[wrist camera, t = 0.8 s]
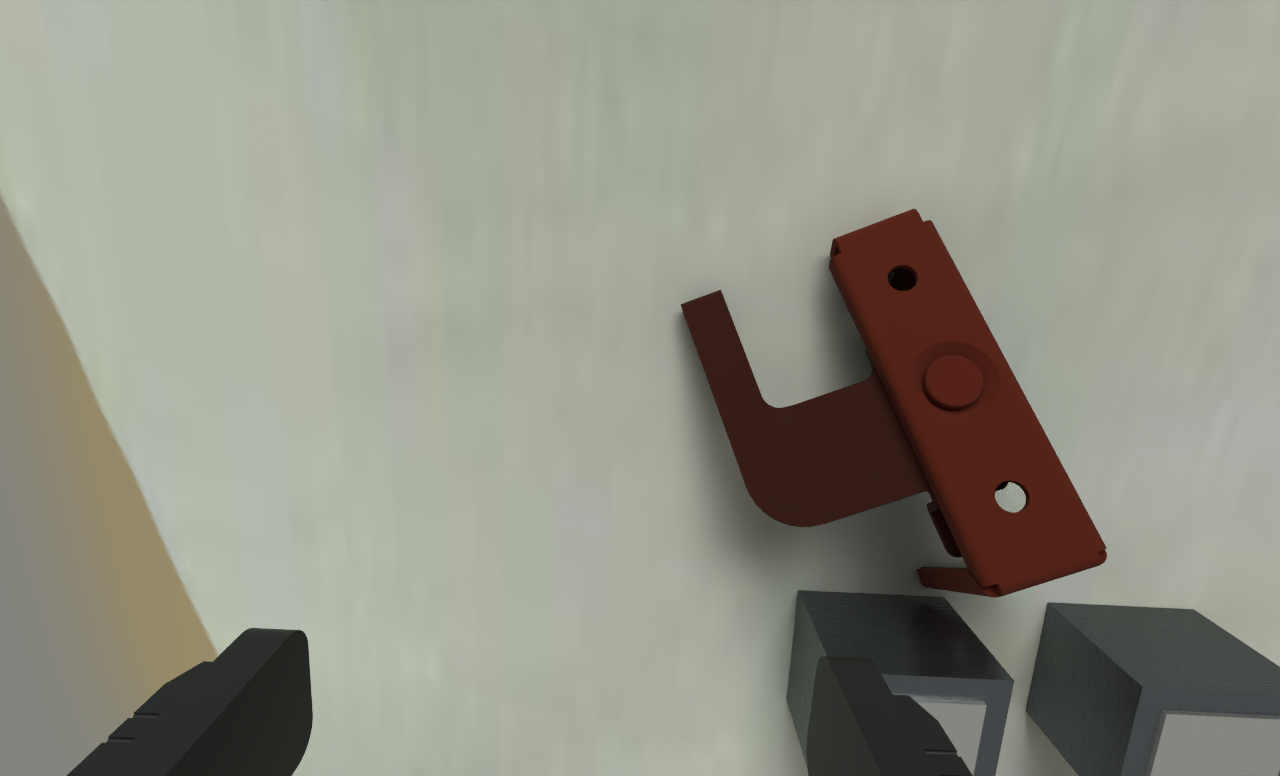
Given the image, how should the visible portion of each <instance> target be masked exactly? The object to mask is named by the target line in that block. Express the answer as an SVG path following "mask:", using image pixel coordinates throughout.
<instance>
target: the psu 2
mask: <svg viewBox="0 0 1280 776" xmlns="http://www.w3.org/2000/svg"><path fill="white" fill-rule="evenodd" d="M1026 711H1027V713H1028V714H1029V715H1030V716H1031V717H1032V719H1033V720H1034V721H1035V722H1036V724H1037V725H1038V726H1039V727H1040V729H1041V730H1042V731H1043V732H1044V733H1045V735H1046V736H1047V737H1048V738H1049V740H1050V741H1051V742H1052V743H1053V745H1054V746H1055V747H1056V748H1057V749H1058V751H1059V752H1060V753H1061V754H1062V756H1063V757H1064V758H1065V759H1066V761H1067V762H1068V763H1069V764H1070V765H1071V767H1072V768H1073V769H1074V770H1075V772H1076V773H1077V774H1078V775H1079V776H1280V667H1279V666H1278V665H1276V664H1275V663H1273V662H1272V661H1270V660H1269V659H1267V658H1266V657H1264V656H1263V655H1261V654H1260V653H1258V652H1257V651H1255V650H1254V649H1252V648H1251V647H1249V646H1248V645H1246V644H1245V643H1243V642H1242V641H1240V640H1239V639H1237V638H1236V637H1234V636H1233V635H1231V634H1230V633H1228V632H1227V631H1225V630H1224V629H1222V628H1221V627H1219V626H1218V625H1216V624H1215V623H1213V622H1212V621H1210V620H1209V619H1207V618H1206V617H1204V616H1203V615H1201V614H1200V613H1198V612H1197V611H1195V610H1191V609H1171V608H1150V607H1129V606H1108V605H1088V604H1067V603H1048V606H1047V611H1046V615H1045V620H1044V625H1043V630H1042V635H1041V640H1040V645H1039V649H1038V654H1037V659H1036V664H1035V669H1034V674H1033V678H1032V683H1031V688H1030V693H1029V698H1028V703H1027V708H1026Z"/></svg>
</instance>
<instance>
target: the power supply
mask: <svg viewBox="0 0 1280 776" xmlns="http://www.w3.org/2000/svg"><path fill="white" fill-rule="evenodd" d="M822 656H830V657H851V658H869V659H871V660H872V661H873V662H874V663H875V665H876V666H877V668H878V670H879V671H880V673H881V675H882V677H883V678H884V680H885V682H886V684H887V685H888V687H889V689H890V691H891V692H892V694H893V695H909V696H910V697H911V698H912V699H914V700H915V701H916V702H917V703H918V704H919V705H920V706H922V707H923V708H924V709H925V710H926V711H927V712H928V713H930V714H931V715H932V716H933V717H934V718H935V719H937V720H938V721H939V723H940V725H941V726H942V728H943V729H944V731H945V732H946V734H947V736H948V737H949V739H950V740H951V742H952V744H953V745H954V747H955V748H956V750H957V755H958V757H961V758H962V759H963V761H964V762H965V764H966V766H967V767H968V769H969V770H970V772H971V773H972V775H973V776H995V774H996V769H997V764H998V759H999V754H1000V749H1001V743H1002V738H1003V733H1004V728H1005V723H1006V718H1007V713H1008V708H1009V703H1010V698H1011V693H1012V688H1013V683H1014V680H1013V679H1012V678H1011V677H1010V675H1009V674H1008V673H1007V672H1006V671H1005V669H1004V668H1003V667H1002V666H1001V665H1000V663H999V662H998V661H997V660H996V659H995V657H994V656H993V655H992V654H991V653H990V652H989V650H988V649H987V648H986V647H985V646H984V644H983V643H982V642H981V641H980V640H979V638H978V637H977V636H976V635H975V634H974V633H973V631H972V630H971V629H970V628H969V627H968V625H967V624H966V623H965V622H964V621H963V619H962V618H961V617H960V616H959V615H958V614H957V612H956V611H955V610H954V609H953V608H952V606H951V605H950V604H949V603H948V602H947V600H946V599H945V598H943V597H922V596H901V595H880V594H860V593H839V592H818V591H798V600H797V609H796V618H795V627H794V636H793V645H792V654H791V663H790V672H789V681H788V690H787V702H788V706H789V709H790V712H791V715H792V719H793V722H794V725H795V729H796V732H797V735H798V738H799V742H800V745H801V748H802V751H803V755H804V758H805V761H806V764H807V754H806V746H807V734H808V727H809V720H810V712H811V705H812V697H813V690H814V682H815V675H816V668H817V664H818V661H819V659H820V657H822ZM807 768H808V767H807Z"/></svg>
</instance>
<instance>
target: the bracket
mask: <svg viewBox="0 0 1280 776" xmlns="http://www.w3.org/2000/svg"><path fill="white" fill-rule="evenodd" d="M830 255H831V257H832V259H831V260H830V264H829V269H830V271H831V273H832V275H833V277H834V280H835V282H836V284H837V286H838V288H839V290H840V293H841V295H842V297H843V299H844V301H845V303H846V306H847V308H848V310H849V312H850V314H851V316H852V319H853V321H854V323H855V325H856V327H857V329H858V332H859V334H860V336H861V338H862V340H863V342H864V345H865V350H866V354H867V356H868V359H869V361H870V363H871V366H872V372H871V375H870V377H869V378H867V379H866V380H864V381H862V382H859V383H856V384H854V385H851V386H848V387H845V388H842V389H839V390H836V391H833V392H830V393H828V394H825V395H822V396H819V397H816V398H813V399H810V400H807V401H804V402H801V403H799V404H796V405H792V406H788V407H784V408H775V407H772V406H770V405H768V404H767V403H766V402H765V401H764V400H763V398H762V396H761V393H760V391H759V388H758V385H757V383H756V380H755V378H754V375H753V372H752V370H751V367H750V365H749V362H748V359H747V357H746V354H745V352H744V349H743V346H742V344H741V341H740V339H739V336H738V333H737V331H736V328H735V326H734V323H733V320H732V318H731V315H730V313H729V310H728V308H727V305H726V302H725V300H724V297H723V295H722V292H721V290H719V291H716V292H713V293H711V294H708V295H705V296H703V297H700V298H697V299H694V300H692V301H689V302H686V303H684V304H681V307H682V310H683V313H684V315H685V318H686V321H687V323H688V326H689V329H690V332H691V335H692V337H693V340H694V343H695V346H696V348H697V351H698V354H699V357H700V360H701V362H702V365H703V368H704V371H705V374H706V376H707V379H708V382H709V385H710V387H711V390H712V393H713V396H714V399H715V401H716V404H717V407H718V410H719V412H720V415H721V418H722V421H723V424H724V426H725V429H726V432H727V435H728V438H729V440H730V443H731V446H732V449H733V451H734V454H735V457H736V460H737V463H738V465H739V468H740V471H741V474H742V476H743V479H744V482H745V485H746V487H747V490H748V492H749V494H750V496H751V497H752V499H753V500H754V502H755V503H756V505H757V506H758V507H759V508H760V509H761V510H762V511H763V512H765V513H766V514H767V515H769V516H770V517H771V518H773V519H775V520H777V521H779V522H781V523H784V524H788V525H791V526H798V527H812V526H817V525H822V524H825V523H829V522H832V521H835V520H838V519H841V518H844V517H847V516H850V515H853V514H857V513H860V512H863V511H866V510H869V509H872V508H875V507H878V506H881V505H884V504H887V503H890V502H893V501H897V500H900V499H903V498H906V497H909V496H912V495H915V494H918V493H921V492H924V491H927V492H929V494H930V496H931V498H932V501H933V502H930V503H928V504H927V508H928V511H929V514H930V516H931V518H932V521H933V523H934V525H935V527H936V530H937V532H938V534H939V536H940V539H941V541H942V543H943V545H944V548H945V550H946V551H947V553H948V554H950V555H951V556H953V557H963V559H964V561H965V563H966V565H967V568H944V567H922V568H919V569H917V572H918V575H919V579H920V582H921V584H922V585H923V586H924V587H928V588H935V589H941V590H948V591H955V592H962V593H968V594H975V595H982V596H989V597H1000V596H1004V595H1007V594H1010V593H1013V592H1017V591H1020V590H1023V589H1026V588H1029V587H1032V586H1036V585H1039V584H1042V583H1045V582H1048V581H1052V580H1055V579H1058V578H1061V577H1064V576H1067V575H1071V574H1074V573H1077V572H1080V571H1083V570H1086V569H1090V568H1093V567H1096V566H1099V565H1101V564H1103V563H1104V562H1105V560H1106V557H1107V553H1106V551H1105V550H1104V549H1106V546H1105V544H1104V542H1103V541H1102V539H1101V537H1100V535H1099V533H1098V531H1097V529H1096V527H1095V526H1094V524H1093V522H1092V520H1091V518H1090V516H1089V514H1088V512H1087V511H1086V509H1085V507H1084V505H1083V503H1082V501H1081V499H1080V498H1079V496H1078V494H1077V492H1076V490H1075V488H1074V486H1073V484H1072V483H1071V481H1070V479H1069V477H1068V475H1067V473H1066V471H1065V469H1064V468H1063V466H1062V464H1061V462H1060V460H1059V458H1058V456H1057V455H1056V453H1055V451H1054V449H1053V447H1052V445H1051V443H1050V441H1049V440H1048V438H1047V436H1046V434H1045V432H1044V430H1043V428H1042V426H1041V425H1040V423H1039V421H1038V419H1037V417H1036V415H1035V413H1034V411H1033V410H1032V408H1031V406H1030V404H1029V402H1028V400H1027V398H1026V397H1025V395H1024V393H1023V391H1022V389H1021V387H1020V385H1019V383H1018V382H1017V380H1016V378H1015V376H1014V374H1013V372H1012V370H1011V368H1010V367H1009V365H1008V363H1007V361H1006V359H1005V357H1004V355H1003V354H1002V352H1001V350H1000V348H999V346H998V344H997V342H996V340H995V339H994V337H993V335H992V333H991V331H990V329H989V327H988V325H987V324H986V322H985V320H984V318H983V316H982V314H981V312H980V310H979V309H978V307H977V305H976V303H975V301H974V299H973V297H972V296H971V294H970V292H969V290H968V288H967V286H966V284H965V282H964V281H963V279H962V277H961V275H960V273H959V271H958V269H957V267H956V266H955V264H954V262H953V260H952V258H951V256H950V254H949V253H948V251H947V249H946V247H945V245H944V243H943V241H942V239H941V238H940V236H939V234H938V232H937V230H936V228H935V226H934V224H933V223H932V221H931V220H929V221H925V222H923V221H922V219H921V217H920V215H919V213H918V212H917V210H916V209H912V210H909V211H907V212H904V213H901V214H899V215H896V216H893V217H891V218H888V219H885V220H883V221H880V222H877V223H875V224H872V225H869V226H867V227H864V228H861V229H859V230H856V231H853V232H851V233H848V234H845V235H843V236H840V237H837V238H835V239H833V242H832V247H831V252H830ZM895 269H897V271H896V273H895V275H894V277H893V279H892V282H891V284H889V282H888V274H889V273H890V272H891V271H893V270H895ZM1008 482H1012V483H1015V484H1017V485H1018V486H1020V487H1021V488H1022V490H1023V491H1024V493H1025V496H1026V503H1025V506H1024V507H1023V509H1022V510H1020V511H1019V512H1017V513H1011V512H1007V511H1005V510H1003V509H1002V508H1001V507H1000V506H999V505H998V504H997V502H996V500H995V492H996V491H998V490H1001V489H1004V488H1005V487H1006V486H1007V484H1008Z"/></svg>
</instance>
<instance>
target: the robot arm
mask: <svg viewBox="0 0 1280 776" xmlns="http://www.w3.org/2000/svg"><path fill="white" fill-rule="evenodd" d="M312 720H313V713H312V697H311V682H310V666H309V650H308V640H307V637H306V635H305V633H304V632H303V631H301V630H283V629H261V628H250V629H247V630H246V631H244V632H243V633H242V634H241V635H240V636H239V637H238V638H237V639H236V640H235V641H234V642H233V643H232V644H231V645H229V646H228V647H227V648H226V649H225V650H224V651H223V652H222V653H221V654H220V655H219V656H218V657H217V658H216V659H215V660H214V661H213V662H202V663H200V664H199V665H197V666H195V667H193V668H192V669H190V670H188V671H187V672H185V673H183V674H181V675H180V676H178V677H176V678H175V679H173V680H171V681H169V682H168V683H166V684H164V685H163V686H162V687H161V688H160V689H159V690H158V691H157V692H156V693H155V694H154V695H153V696H151V697H150V698H149V699H148V700H147V701H146V702H145V703H144V704H143V705H142V706H141V707H140V708H139V709H138V710H136V712H134V716H133V718H128V719H127V720H126V721H125V722H124V723H123V724H122V725H120V726H119V727H118V728H117V729H116V730H115V731H114V732H113V733H112V734H111V735H110V736H109V738H108V741H107V743H101V744H100V745H99V746H98V747H97V748H96V749H95V750H94V751H93V752H92V753H91V754H89V755H88V756H87V757H86V758H85V759H84V760H83V761H82V762H81V763H80V764H79V765H78V766H77V767H76V768H74V769H73V770H72V771H71V772H70V773H69V774H68V775H67V776H292V774H293V773H294V771H295V770H296V768H297V766H298V765H299V763H300V761H301V760H302V758H303V755H304V753H305V751H306V748H307V745H308V742H309V738H310V734H311V729H312ZM806 754H807V767H808V774H809V776H973V775H972V773H971V772H970V770H969V769H968V767H967V766H966V764H965V762H964V761H963V759H962V758H961V757H958V755H957V750H956V748H955V747H954V745H953V744H952V742H951V740H950V739H949V737H948V736H947V734H946V732H945V731H944V729H943V728H942V726H941V725H940V723H939V721H938V720H937V719H935V718H934V717H933V716H932V715H931V714H930V713H928V712H927V711H926V710H925V709H924V708H923V707H922V706H920V705H919V704H918V703H917V702H916V701H915V700H914V699H912V698H911V697H910V696H909V695H893V694H892V692H891V691H890V689H889V687H888V685H887V684H886V682H885V680H884V678H883V677H882V675H881V673H880V671H879V670H878V668H877V666H876V665H875V663H874V662H873V661H872V660H871V659H869V658H851V657H830V656H822V657H820V659H819V661H818V664H817V668H816V675H815V682H814V690H813V697H812V705H811V712H810V720H809V727H808V734H807V746H806Z"/></svg>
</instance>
